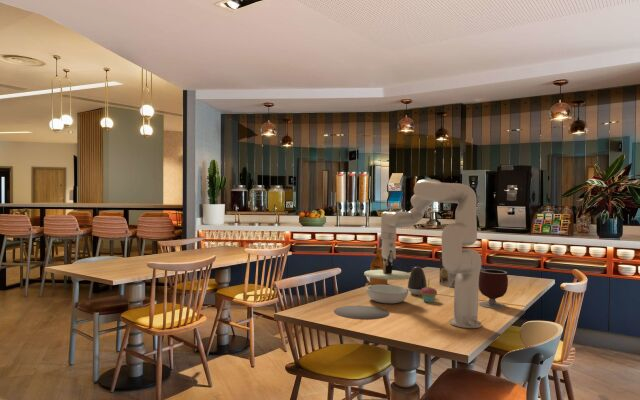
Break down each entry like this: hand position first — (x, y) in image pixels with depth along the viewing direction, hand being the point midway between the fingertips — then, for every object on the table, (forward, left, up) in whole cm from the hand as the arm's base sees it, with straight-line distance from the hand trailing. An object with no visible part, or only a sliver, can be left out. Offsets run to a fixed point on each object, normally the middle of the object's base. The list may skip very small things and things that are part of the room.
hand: (387, 272), depth 232 cm
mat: (-22, +18, -15) cm, 32 cm away
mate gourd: (-10, -50, -15) cm, 53 cm away
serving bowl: (0, 0, -15) cm, 15 cm away
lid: (0, 0, -2) cm, 2 cm away
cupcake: (+1, -22, -15) cm, 27 cm away
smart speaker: (+18, -22, -15) cm, 32 cm away
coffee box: (+42, -50, -15) cm, 67 cm away
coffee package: (+46, -8, -15) cm, 49 cm away
